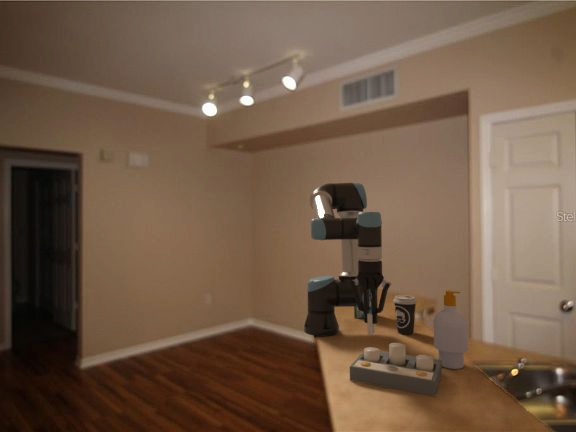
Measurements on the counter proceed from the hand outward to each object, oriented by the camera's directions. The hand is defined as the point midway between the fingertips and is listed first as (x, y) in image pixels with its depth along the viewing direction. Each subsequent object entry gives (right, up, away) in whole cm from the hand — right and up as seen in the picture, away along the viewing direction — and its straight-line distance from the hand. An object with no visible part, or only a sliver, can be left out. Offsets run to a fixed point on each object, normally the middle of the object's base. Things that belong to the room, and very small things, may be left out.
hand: (371, 333), depth 119 cm
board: (+7, -11, -6) cm, 14 cm away
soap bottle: (+27, -11, +2) cm, 29 cm away
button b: (+7, -8, -4) cm, 12 cm away
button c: (+14, -11, -8) cm, 20 cm away
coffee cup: (+23, -12, +38) cm, 46 cm away
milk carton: (+12, -13, +66) cm, 68 cm away
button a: (0, -11, -1) cm, 11 cm away
